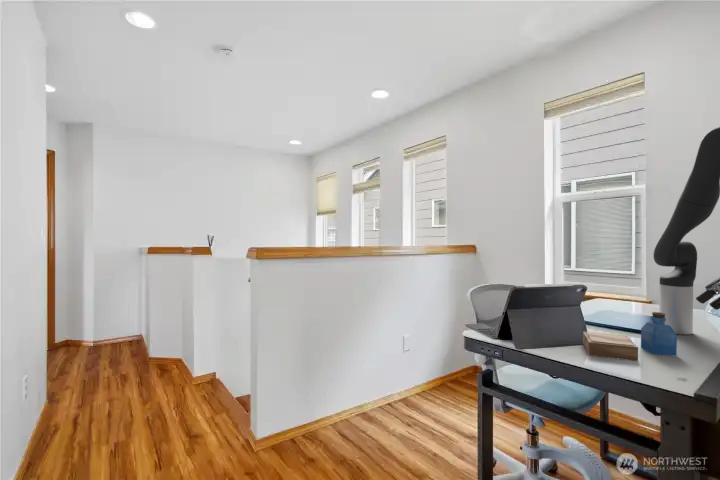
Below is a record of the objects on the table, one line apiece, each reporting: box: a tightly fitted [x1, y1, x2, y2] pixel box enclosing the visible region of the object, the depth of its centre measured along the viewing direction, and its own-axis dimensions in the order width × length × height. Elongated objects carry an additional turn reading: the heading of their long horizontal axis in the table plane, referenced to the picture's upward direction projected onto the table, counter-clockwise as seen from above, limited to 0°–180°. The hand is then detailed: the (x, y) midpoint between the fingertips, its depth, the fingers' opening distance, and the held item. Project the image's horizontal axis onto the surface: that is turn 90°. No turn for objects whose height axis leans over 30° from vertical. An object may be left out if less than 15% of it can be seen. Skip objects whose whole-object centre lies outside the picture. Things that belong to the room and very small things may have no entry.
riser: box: [582, 331, 639, 362], centre depth 109 cm, size 12×12×4 cm
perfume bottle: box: [640, 311, 678, 356], centre depth 108 cm, size 6×6×12 cm
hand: (705, 304), depth 103 cm, fingers open, 8 cm apart
